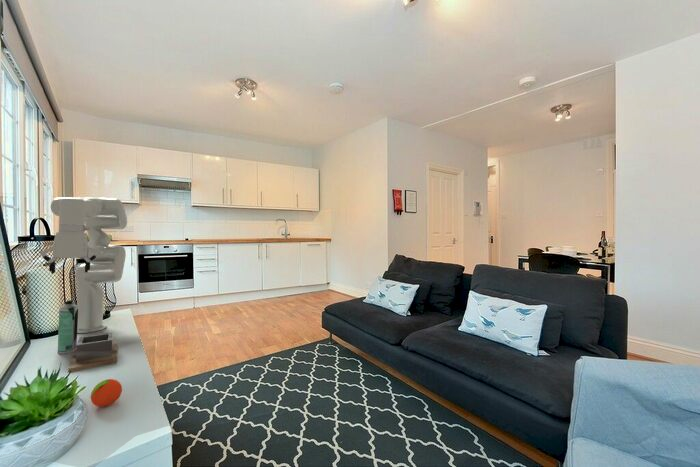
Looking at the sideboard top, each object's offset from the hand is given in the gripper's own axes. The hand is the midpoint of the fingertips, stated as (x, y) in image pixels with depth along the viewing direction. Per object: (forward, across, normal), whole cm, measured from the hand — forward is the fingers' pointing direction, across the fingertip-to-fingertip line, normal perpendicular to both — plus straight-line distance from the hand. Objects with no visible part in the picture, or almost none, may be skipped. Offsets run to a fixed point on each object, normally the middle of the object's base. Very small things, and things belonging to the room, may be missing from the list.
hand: (70, 272), depth 119 cm
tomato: (+32, -13, +54) cm, 64 cm away
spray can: (+31, 0, 0) cm, 31 cm away
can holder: (+31, -9, +13) cm, 35 cm away
